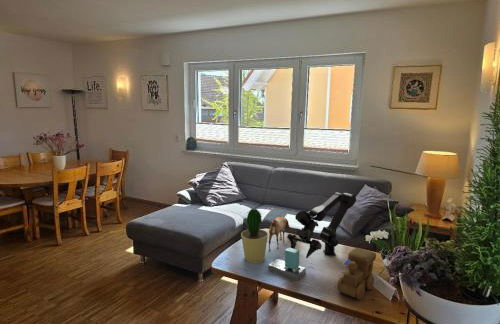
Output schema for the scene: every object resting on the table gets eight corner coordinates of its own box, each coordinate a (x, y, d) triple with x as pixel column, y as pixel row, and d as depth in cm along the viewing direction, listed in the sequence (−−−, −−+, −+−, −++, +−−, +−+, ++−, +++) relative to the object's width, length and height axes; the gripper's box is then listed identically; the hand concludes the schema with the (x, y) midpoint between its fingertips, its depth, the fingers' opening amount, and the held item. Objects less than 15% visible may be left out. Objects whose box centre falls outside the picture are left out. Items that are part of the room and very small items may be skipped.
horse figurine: (274, 256, 183) (274, 222, 180) (262, 253, 187) (262, 220, 183) (293, 237, 210) (293, 207, 207) (282, 235, 214) (282, 206, 211)
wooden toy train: (354, 277, 160) (355, 246, 157) (376, 285, 152) (378, 253, 149) (334, 294, 145) (335, 260, 143) (358, 304, 138) (360, 268, 135)
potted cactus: (257, 267, 171) (257, 214, 166) (236, 259, 180) (234, 209, 175) (273, 256, 183) (273, 207, 178) (252, 249, 192) (251, 202, 187)
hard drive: (350, 255, 181) (343, 263, 171) (365, 258, 177) (358, 268, 167) (350, 257, 182) (343, 266, 172) (365, 261, 177) (358, 270, 167)
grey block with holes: (277, 263, 175) (277, 258, 174) (305, 273, 164) (305, 267, 164) (268, 270, 168) (268, 264, 167) (297, 280, 157) (297, 275, 157)
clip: (289, 270, 167) (289, 247, 165) (298, 273, 164) (299, 250, 161) (285, 273, 164) (285, 250, 162) (295, 277, 160) (295, 253, 158)
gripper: (288, 219, 175) (278, 245, 168) (319, 226, 163) (309, 254, 157) (295, 228, 182) (285, 253, 175) (325, 235, 171) (316, 262, 164)
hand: (298, 255), depth 168 cm, fingers open, 9 cm apart
